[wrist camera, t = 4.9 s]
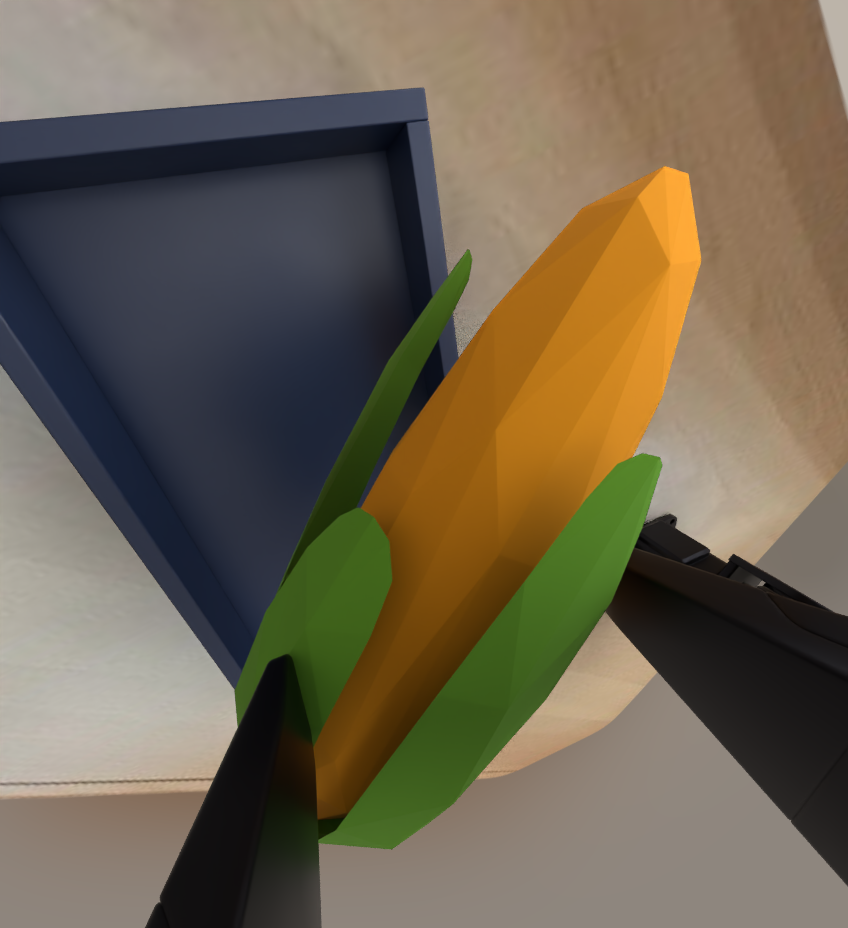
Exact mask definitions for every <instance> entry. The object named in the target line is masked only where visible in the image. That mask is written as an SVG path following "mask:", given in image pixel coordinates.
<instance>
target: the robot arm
mask: <svg viewBox="0 0 848 928" xmlns="http://www.w3.org/2000/svg"><path fill="white" fill-rule="evenodd" d="M676 521H677V518H676V517H675V516H674V515H672V514H669V515H666V516H664V517H662V518H659V519H657V520H654V521H652V522H650V523H647V524H645V525H643V527H642V529H641V532H640V534H639V537H638V539H637V542H636V544H635V546H634V549H633V551H632V554H631V556H630V558H629V561H628V563H627V566H626V568H625V570H624V573H623V575H622V578H621V580H620V582H619V585H618V587H617V590H616V592H615V595H614V597H613V599H612V602H611V603H610V605H609V606H608V608H607V609H606V613H607V614H608V615H609V617H610V618H611V619H612V621H613V622H614V623H615V624H616V625H617V627H618V628H619V629H620V630H621V631H622V632H623V633H624V635H625V636H626V637H627V638H628V639H629V640H630V641H631V642H632V644H633V645H634V646H635V647H636V648H637V649H638V650H639V651H640V653H641V654H642V655H643V656H644V657H645V658H646V659H647V660H648V662H649V663H650V664H651V665H652V666H653V667H654V668H655V669H656V671H657V672H658V673H659V674H660V675H661V676H662V677H663V678H664V680H665V681H666V682H667V683H668V684H669V685H670V686H671V687H672V689H673V690H674V691H675V692H676V693H677V694H678V695H679V696H680V698H681V699H682V700H683V701H684V702H685V703H686V704H687V705H688V706H689V708H690V709H691V710H692V711H693V712H694V713H695V714H696V716H697V717H698V718H699V719H700V720H701V721H702V722H703V723H704V725H705V726H706V727H707V728H708V729H709V730H710V731H711V732H712V734H713V735H714V736H715V737H716V738H717V739H718V740H719V741H720V743H721V744H722V745H723V746H724V747H725V748H726V749H727V750H728V752H729V753H730V754H731V755H732V756H733V757H734V758H735V759H736V760H737V762H738V763H739V764H740V765H741V766H742V767H743V768H744V769H745V771H746V772H747V773H748V774H749V775H750V776H751V777H752V778H753V780H754V781H755V782H756V783H757V784H758V785H759V786H760V787H761V789H762V790H763V791H764V792H765V793H766V794H767V795H768V797H769V798H770V799H771V800H772V801H773V802H774V803H775V804H776V806H777V807H778V808H779V809H780V810H781V811H782V812H783V813H784V814H785V816H786V817H787V818H788V819H789V820H791V822H792V824H793V825H794V826H795V827H796V829H797V830H798V831H799V832H800V833H801V834H802V835H803V836H804V837H805V839H806V840H807V841H808V842H809V843H810V844H811V845H812V847H813V848H814V849H815V850H816V851H817V852H818V853H819V854H820V855H821V857H822V858H823V859H824V860H825V861H826V862H827V863H828V865H829V866H830V867H831V868H832V869H833V870H834V871H835V872H836V873H837V875H838V876H839V877H840V878H841V879H842V880H843V881H844V883H845V884H846V885H847V886H848V616H845V615H841V614H838V613H835V612H833V611H831V610H830V609H828V608H826V607H825V606H823V605H821V604H819V603H818V602H816V601H814V600H813V599H811V598H809V597H808V596H806V595H804V594H802V593H801V592H799V591H797V590H796V589H794V588H792V587H790V586H788V585H787V584H785V583H783V582H782V581H780V580H778V579H777V578H775V577H773V576H771V575H770V574H768V573H766V572H764V571H763V570H761V569H759V568H758V567H756V566H754V565H752V564H750V563H749V562H747V561H745V560H743V559H742V558H740V557H738V556H736V555H735V554H733V555H732V556H731V557H730V558H729V559H728V560H730V561H729V562H728V563H726V562H724V561H722V560H721V559H719V558H717V557H716V556H714V555H712V554H711V553H710V549H708V548H707V547H705V546H704V545H702V544H701V543H699V542H697V541H696V540H694V539H692V538H691V537H689V536H687V535H686V534H684V533H682V532H681V531H679V530H677V529H676V528H675V526H676ZM762 580H763V581H764V582H766V583H765V584H764V585H763V586H757V585H758V584H759V583H760V582H761V581H762ZM145 928H321V900H320V874H319V845H318V817H317V789H316V769H315V759H314V750H313V743H312V736H311V729H310V726H309V722H308V718H307V714H306V710H305V706H304V702H303V698H302V694H301V690H300V686H299V682H298V678H297V674H296V670H295V666H294V662H293V659H292V657H291V656H290V655H289V654H285V655H282V656H280V657H277V658H275V659H272V660H270V661H269V662H268V664H267V665H266V668H265V670H264V672H263V674H262V676H261V678H260V681H259V683H258V685H257V687H256V689H255V691H254V694H253V696H252V698H251V700H250V702H249V704H248V707H247V709H246V711H245V713H244V715H243V717H242V720H241V722H240V724H239V726H238V728H237V730H236V733H235V735H234V737H233V739H232V741H231V743H230V746H229V748H228V750H227V752H226V754H225V756H224V758H223V761H222V763H221V765H220V767H219V769H218V771H217V774H216V776H215V778H214V780H213V782H212V784H211V787H210V789H209V791H208V793H207V795H206V798H205V800H204V802H203V804H202V806H201V809H200V810H199V813H198V815H197V817H196V819H195V821H194V823H193V826H192V828H191V830H190V832H189V834H188V836H187V839H186V841H185V843H184V845H183V847H182V849H181V852H180V854H179V856H178V858H177V860H176V862H175V865H174V867H173V869H172V871H171V873H170V875H169V878H168V880H167V882H166V884H165V886H164V889H163V891H162V893H161V895H160V902H159V903H158V904H156V906H155V907H154V910H153V912H152V914H151V916H150V918H149V920H148V923H147V925H146V927H145Z"/></svg>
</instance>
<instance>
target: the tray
mask: <svg viewBox="0 0 848 928" xmlns="http://www.w3.org/2000/svg"><path fill="white" fill-rule="evenodd" d="M427 120H428V112H427V104H426V96H425V89H424V88H411V89H398V90H386V91H374V92H362V93H350V94H337V95H325V96H313V97H301V98H289V99H276V100H264V101H252V102H240V103H228V104H215V105H203V106H191V107H179V108H167V109H154V110H142V111H130V112H118V113H106V114H93V115H81V116H69V117H57V118H45V119H32V120H20V121H8V122H0V364H1V366H2V367H3V369H4V370H5V371H6V373H7V374H8V376H9V377H10V378H11V380H12V381H13V382H14V384H15V385H16V387H17V388H18V389H19V391H20V392H21V394H22V395H23V396H24V398H25V399H26V401H27V402H28V403H29V405H30V406H31V407H32V409H33V410H34V412H35V413H36V414H37V416H38V417H39V419H40V420H41V421H42V423H43V424H44V426H45V427H46V428H47V430H48V431H49V432H50V434H51V435H52V437H53V438H54V439H55V441H56V442H57V444H58V445H59V446H60V448H61V449H62V451H63V452H64V453H65V455H66V456H67V457H68V459H69V460H70V462H71V463H72V464H73V466H74V467H75V469H76V470H77V471H78V473H79V474H80V476H81V477H82V478H83V480H84V481H85V482H86V484H87V485H88V487H89V488H90V489H91V491H92V492H93V494H94V495H95V496H96V498H97V499H98V500H99V502H100V503H101V505H102V506H103V507H104V509H105V510H106V512H107V513H108V514H109V516H110V517H111V519H112V520H113V521H114V523H115V524H116V525H117V527H118V528H119V530H120V531H121V532H122V534H123V535H124V537H125V538H126V539H127V541H128V542H129V544H130V545H131V546H132V548H133V549H134V550H135V552H136V553H137V555H138V556H139V557H140V559H141V560H142V562H143V563H144V564H145V566H146V567H147V569H148V570H149V571H150V573H151V574H152V575H153V577H154V578H155V580H156V581H157V582H158V584H159V585H160V587H161V588H162V589H163V591H164V592H165V594H166V595H167V596H168V598H169V599H170V600H171V602H172V603H173V605H174V606H175V607H176V609H177V610H178V612H179V613H180V614H181V616H182V617H183V618H184V620H185V621H186V623H187V624H188V625H189V627H190V628H191V630H192V631H193V632H194V634H195V635H196V637H197V638H198V639H199V641H200V642H201V643H202V645H203V646H204V648H205V649H206V650H207V652H208V653H209V655H210V656H211V657H212V659H213V660H214V662H215V663H216V664H217V666H218V667H219V668H220V670H221V671H222V673H223V674H224V675H225V677H226V678H227V680H228V681H229V682H230V684H231V685H232V687H233V688H234V689H235V688H236V686H237V683H238V681H239V678H240V676H241V673H242V671H243V668H244V665H245V663H246V660H247V658H248V655H249V653H250V650H251V648H252V645H253V643H254V640H255V637H256V635H257V632H258V630H259V627H260V625H261V622H262V620H263V617H264V615H265V612H266V610H267V609H268V607H269V606H270V604H271V603H272V601H273V599H274V598H275V596H276V593H277V591H278V588H279V586H280V583H281V581H282V579H283V576H284V574H285V571H286V569H287V567H288V564H289V562H290V560H291V558H292V555H293V553H294V551H295V549H296V546H297V544H298V542H299V540H300V538H301V535H302V533H303V531H304V529H305V526H306V524H307V522H308V520H309V517H310V515H311V513H312V511H313V508H314V506H315V504H316V502H317V500H318V497H319V495H320V493H321V491H322V488H323V486H324V484H325V482H326V479H327V478H328V476H329V474H330V472H331V470H332V468H333V466H334V464H335V462H336V460H337V458H338V457H339V455H340V453H341V451H342V449H343V447H344V445H345V443H346V441H347V439H348V437H349V435H350V434H351V432H352V430H353V428H354V426H355V424H356V422H357V420H358V418H359V416H360V414H361V413H362V411H363V409H364V407H365V405H366V403H367V401H368V399H369V397H370V395H371V393H372V391H373V390H374V388H375V386H376V384H377V382H378V380H379V378H380V376H381V374H382V372H383V370H384V369H385V367H386V365H387V363H388V361H389V359H390V358H391V356H392V355H393V354H394V352H395V351H396V349H397V348H398V346H399V345H400V344H401V342H402V341H403V339H404V338H405V336H406V335H407V333H408V332H409V331H410V329H411V328H412V326H413V325H414V323H415V322H416V321H417V319H418V318H419V316H420V315H421V313H422V312H423V311H424V309H425V308H426V306H427V305H428V303H429V302H430V300H431V299H432V298H433V296H434V295H435V293H436V292H437V291H438V289H439V288H440V286H441V285H442V284H443V282H444V281H445V280H446V278H447V277H448V272H447V264H446V256H445V248H444V240H443V232H442V224H441V216H440V208H439V200H438V192H437V184H436V176H435V168H434V160H433V152H432V144H431V136H430V128H429V121H427ZM457 360H458V351H457V343H456V335H455V327H454V319H453V313H452V315H451V317H450V319H449V320H448V322H447V324H446V326H445V328H444V330H443V331H442V333H441V335H440V337H439V339H438V341H437V342H436V344H435V346H434V348H433V350H432V352H431V353H430V355H429V357H428V359H427V361H426V363H425V364H424V366H423V368H422V370H421V372H420V374H419V376H418V378H417V380H416V382H415V384H414V386H413V388H412V390H411V392H410V395H409V397H408V399H407V401H406V403H405V405H404V407H403V409H402V411H401V413H400V415H399V417H398V420H397V422H396V424H395V426H394V428H393V430H392V432H391V434H390V436H389V438H388V440H387V443H386V445H385V447H384V449H383V451H382V453H381V455H380V457H379V459H378V461H377V463H376V466H375V468H374V470H373V472H372V474H371V477H370V479H369V481H368V483H367V485H366V488H365V490H364V492H363V494H362V496H361V499H360V501H359V503H358V505H357V508H358V507H359V508H361V506H362V505H363V503H364V501H365V499H366V498H367V496H368V494H369V492H370V490H371V489H372V487H373V485H374V483H375V481H376V480H377V478H378V476H379V474H380V472H381V471H382V469H383V467H384V465H385V464H386V462H387V460H388V458H389V456H390V455H391V453H392V451H393V450H394V448H395V447H396V445H397V444H398V443H399V441H400V440H401V438H402V437H403V436H404V434H405V433H406V431H407V430H408V429H409V427H410V426H411V424H412V423H413V422H414V420H415V419H416V417H417V416H418V415H419V413H420V412H421V410H422V409H423V408H424V406H425V405H426V403H427V402H428V401H429V399H430V398H431V396H432V395H433V394H434V392H435V391H436V389H437V388H438V386H439V385H440V384H441V382H442V381H443V379H444V378H445V377H446V375H447V374H448V372H449V371H450V370H451V368H452V367H453V365H454V364H455V363H456V361H457Z"/></svg>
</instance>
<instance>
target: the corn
mask: <svg viewBox="0 0 848 928" xmlns="http://www.w3.org/2000/svg"><path fill="white" fill-rule="evenodd" d="M700 263H701V255H700V248H699V241H698V235H697V228H696V222H695V215H694V209H693V202H692V195H691V189H690V182H689V176H688V174H687V173H684V172H681V171H678V170H675V169H672V168H669V167H666V166H664V167H662V168H660V169H658V170H656V171H654V172H652V173H650V174H648V175H646V176H644V177H643V178H641V179H639V180H637V181H635V182H633V183H631V184H629V185H627V186H625V187H623V188H621V189H619V190H617V191H615V192H613V193H611V194H609V195H607V196H606V197H604V198H602V199H600V200H598V201H596V202H594V203H592V204H590V205H588V206H586V207H584V208H582V209H581V210H580V211H579V213H578V214H577V215H576V216H575V217H574V218H573V219H572V221H571V222H570V223H569V224H568V225H567V226H566V227H565V228H564V230H563V231H562V232H561V233H560V234H559V235H558V236H557V238H556V239H555V240H554V241H553V242H552V243H551V244H550V246H549V247H548V248H547V249H546V250H545V251H544V252H543V254H542V255H541V256H540V257H539V258H538V259H537V260H536V262H535V263H534V264H533V265H532V266H531V267H530V268H529V270H528V271H527V272H526V273H525V274H524V275H523V276H522V277H521V279H520V280H519V281H518V282H517V283H516V284H515V285H514V287H513V288H512V289H511V290H510V291H509V292H508V293H507V295H506V296H505V297H504V298H503V299H502V300H501V301H500V303H499V304H498V305H497V306H496V307H495V308H494V309H493V311H492V312H491V314H490V315H489V316H488V318H487V319H486V321H485V322H484V323H483V325H482V326H481V328H480V329H479V330H478V332H477V333H476V335H475V336H474V337H473V339H472V340H471V342H470V343H469V344H468V346H467V347H466V349H465V350H464V351H463V353H462V354H461V356H460V357H459V358H458V360H457V361H456V363H455V364H454V365H453V367H452V368H451V370H450V371H449V372H448V374H447V375H446V377H445V378H444V379H443V381H442V382H441V384H440V385H439V386H438V388H437V389H436V391H435V392H434V394H433V395H432V396H431V398H430V399H429V401H428V402H427V403H426V405H425V406H424V408H423V409H422V410H421V412H420V413H419V415H418V416H417V417H416V419H415V420H414V422H413V423H412V424H411V426H410V427H409V429H408V430H407V431H406V433H405V434H404V436H403V437H402V438H401V440H400V441H399V443H398V444H397V445H396V447H395V448H394V450H393V451H392V453H391V455H390V456H389V458H388V460H387V462H386V464H385V465H384V467H383V469H382V471H381V472H380V474H379V476H378V478H377V480H376V481H375V483H374V485H373V487H372V489H371V490H370V492H369V494H368V496H367V498H366V499H365V501H364V503H363V505H362V506H361V508H359V507H358V508H357V505H358V503H359V501H360V499H361V496H362V494H363V492H364V490H365V488H366V485H367V483H368V481H369V479H370V477H371V474H372V472H373V470H374V468H375V466H376V463H377V461H378V459H379V457H380V455H381V453H382V451H383V449H384V447H385V445H386V443H387V440H388V438H389V436H390V434H391V432H392V430H393V428H394V426H395V424H396V422H397V420H398V417H399V415H400V413H401V411H402V409H403V407H404V405H405V403H406V401H407V399H408V397H409V395H410V392H411V390H412V388H413V386H414V384H415V382H416V380H417V378H418V376H419V374H420V372H421V370H422V368H423V366H424V364H425V363H426V361H427V359H428V357H429V355H430V353H431V352H432V350H433V348H434V346H435V344H436V342H437V341H438V339H439V337H440V335H441V333H442V331H443V330H444V328H445V326H446V324H447V322H448V320H449V319H450V317H451V315H452V313H453V311H454V309H455V307H456V305H457V303H458V301H459V299H460V297H461V295H462V293H463V291H464V289H465V286H466V284H467V282H468V280H469V275H470V269H471V264H472V258H471V254H470V250H467V251H466V252H465V254H464V255H463V257H462V258H461V259H460V261H459V262H458V263H457V265H456V266H455V267H454V269H453V270H452V272H451V273H450V274H449V276H448V277H447V278H446V280H445V281H444V282H443V284H442V285H441V286H440V288H439V289H438V291H437V292H436V293H435V295H434V296H433V298H432V299H431V300H430V302H429V303H428V305H427V306H426V308H425V309H424V311H423V312H422V313H421V315H420V316H419V318H418V319H417V321H416V322H415V323H414V325H413V326H412V328H411V329H410V331H409V332H408V333H407V335H406V336H405V338H404V339H403V341H402V342H401V344H400V345H399V346H398V348H397V349H396V351H395V352H394V354H393V355H392V356H391V358H390V359H389V361H388V363H387V365H386V367H385V369H384V370H383V372H382V374H381V376H380V378H379V380H378V382H377V384H376V386H375V388H374V390H373V391H372V393H371V395H370V397H369V399H368V401H367V403H366V405H365V407H364V409H363V411H362V413H361V414H360V416H359V418H358V420H357V422H356V424H355V426H354V428H353V430H352V432H351V434H350V435H349V437H348V439H347V441H346V443H345V445H344V447H343V449H342V451H341V453H340V455H339V457H338V458H337V460H336V462H335V464H334V466H333V468H332V470H331V472H330V474H329V476H328V478H327V479H326V482H325V484H324V486H323V488H322V491H321V493H320V495H319V497H318V500H317V502H316V504H315V506H314V508H313V511H312V513H311V515H310V517H309V520H308V522H307V524H306V526H305V529H304V531H303V533H302V535H301V538H300V540H299V542H298V544H297V546H296V549H295V551H294V553H293V555H292V558H291V560H290V562H289V564H288V567H287V569H286V571H285V574H284V576H283V579H282V581H281V583H280V586H279V588H278V591H277V593H276V596H275V598H274V599H273V601H272V603H271V604H270V606H269V607H268V609H267V610H266V612H265V615H264V617H263V620H262V622H261V625H260V627H259V630H258V632H257V635H256V637H255V640H254V643H253V645H252V648H251V650H250V653H249V655H248V658H247V660H246V663H245V665H244V668H243V671H242V673H241V676H240V678H239V681H238V683H237V686H236V688H235V702H236V713H237V725H238V726H239V724H240V722H241V720H242V717H243V715H244V713H245V711H246V709H247V707H248V704H249V702H250V700H251V698H252V696H253V694H254V691H255V689H256V687H257V685H258V683H259V681H260V678H261V676H262V674H263V672H264V670H265V668H266V665H267V664H268V662H269V661H270V660H272V659H275V658H277V657H280V656H282V655H285V654H289V655H290V656H291V657H292V659H293V662H294V666H295V670H296V674H297V678H298V682H299V686H300V690H301V694H302V698H303V702H304V706H305V710H306V714H307V718H308V722H309V726H310V729H311V736H312V743H313V750H314V759H315V769H316V789H317V817H318V843H324V844H335V845H347V846H359V847H371V848H383V849H393V848H394V847H396V846H397V845H399V844H400V843H401V842H403V841H404V840H406V839H407V838H408V837H410V836H411V835H413V834H414V833H415V832H417V831H418V830H420V829H421V828H423V827H424V826H425V825H427V824H428V823H429V822H431V821H432V820H433V819H435V818H436V817H437V816H438V815H440V814H441V813H442V812H443V811H445V810H446V809H447V808H449V807H450V806H451V805H452V804H454V802H455V801H456V800H457V799H458V798H459V797H460V796H461V795H462V793H463V792H464V791H465V790H466V789H467V788H468V787H469V786H470V784H471V783H472V782H473V781H474V780H475V779H476V778H477V777H478V775H479V774H480V773H481V772H482V771H483V770H484V769H485V768H486V766H487V765H488V764H489V763H490V762H491V761H492V760H493V759H494V757H495V756H496V755H497V754H498V753H499V752H500V751H501V750H502V748H503V747H504V746H505V745H506V744H507V743H508V742H509V740H510V739H511V738H512V737H513V736H514V735H515V734H516V733H517V731H518V730H519V729H520V728H521V727H522V726H523V725H524V724H525V722H526V721H527V720H528V719H529V718H530V717H531V716H532V715H533V713H534V712H535V711H536V710H537V709H538V708H539V707H540V706H541V704H542V703H543V702H544V701H545V700H546V699H547V697H548V696H549V694H550V693H551V691H552V690H553V688H554V687H555V685H556V684H557V682H558V681H559V679H560V678H561V676H562V675H563V673H564V672H565V670H566V669H567V667H568V666H569V664H570V663H571V661H572V660H573V658H574V657H575V655H576V654H577V652H578V651H579V649H580V648H581V646H582V645H583V643H584V642H585V640H586V639H587V637H588V636H589V634H590V633H591V632H592V630H593V629H594V627H595V626H596V624H597V623H598V621H599V620H600V618H601V617H602V615H603V614H604V612H605V611H606V609H607V608H608V606H609V605H610V603H611V602H612V599H613V597H614V595H615V592H616V590H617V587H618V585H619V582H620V580H621V578H622V575H623V573H624V570H625V568H626V566H627V563H628V561H629V558H630V556H631V554H632V551H633V549H634V546H635V544H636V542H637V539H638V537H639V534H640V532H641V529H642V527H643V525H644V522H645V519H646V515H647V512H648V509H649V506H650V503H651V499H652V496H653V493H654V490H655V487H656V484H657V480H658V477H659V474H660V471H661V468H662V462H661V459H660V457H656V456H652V455H648V454H643V453H642V454H640V455H637V456H635V457H633V455H634V453H635V451H636V449H637V447H638V445H639V443H640V441H641V439H642V437H643V435H644V433H645V431H646V429H647V427H648V425H649V423H650V421H651V419H652V416H653V414H654V412H655V410H656V408H657V406H658V404H659V402H660V400H661V398H662V395H663V392H664V388H665V385H666V381H667V378H668V374H669V371H670V367H671V364H672V360H673V357H674V353H675V350H676V346H677V343H678V339H679V336H680V333H681V329H682V326H683V322H684V319H685V315H686V312H687V308H688V305H689V301H690V298H691V294H692V291H693V287H694V284H695V280H696V277H697V273H698V270H699V267H700ZM632 457H633V458H632Z"/></svg>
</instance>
